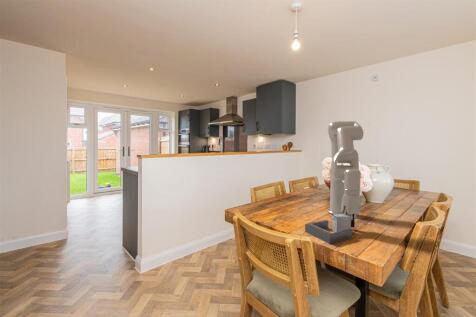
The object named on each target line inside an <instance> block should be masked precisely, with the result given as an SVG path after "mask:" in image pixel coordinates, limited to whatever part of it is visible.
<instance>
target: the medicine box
mask: <svg viewBox="0 0 476 317" xmlns="http://www.w3.org/2000/svg"><path fill="white" fill-rule="evenodd" d="M331 215H332V216H331V217H332V220H331V230H332V233H335V232H339V231H343V230H347V229H351V228H352V227H351V216H349V215H344V214H337V215H334V214H331ZM351 230H352V229H351Z"/></svg>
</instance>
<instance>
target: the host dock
mask: <svg viewBox="0 0 476 317" xmlns="http://www.w3.org/2000/svg"><path fill="white" fill-rule="evenodd" d="M327 229H329V220H327V219H325V220H321V221H320V220H319V221H314V222H310V223H306V224H304V233H306V234H309V235H310V236H313V237H315V238H317V239H318V240H321V241H323V242H324V243H327V244H329V245H330V244H335V243H338V242H341V241H347V240H351V239H353V229H347V230H343V231H339V232H331V231H328V230H327Z"/></svg>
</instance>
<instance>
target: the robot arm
mask: <svg viewBox="0 0 476 317" xmlns="http://www.w3.org/2000/svg"><path fill="white" fill-rule="evenodd" d="M327 132H328V133H327V134H328V137H329V139H330V143H331V145H330V147H331V150H330V151H331V162H330V167H329V180H330V181H329V182H330V190H329V191H330V192H329V194H330V196H329V208H328V209H327V213H329V214H331V215H337V214H344V215H349V216H351V228H355V223H356V222H355V221H356V219H357V216H358V215H359V213H360V212H361V208H362V206H361V178H362V177H361V176H362V175H361V174H362V173H361V170H360V168H359V167H360V166H359V163H360V162H359V152H358V151H357V150H356V149H355V147H354V141H361V140H362V139H363V138H364V135H365V134H364V129H363V127H362V126H361V124H360V123H359V122H357V121H354V120H353V121H352V120H349V121H348V120H346V121H341V120H340V121H332V122H329V124H328V127H327ZM342 164H343V165H342ZM344 164H345V165H344ZM348 164H349V165H348Z"/></svg>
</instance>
